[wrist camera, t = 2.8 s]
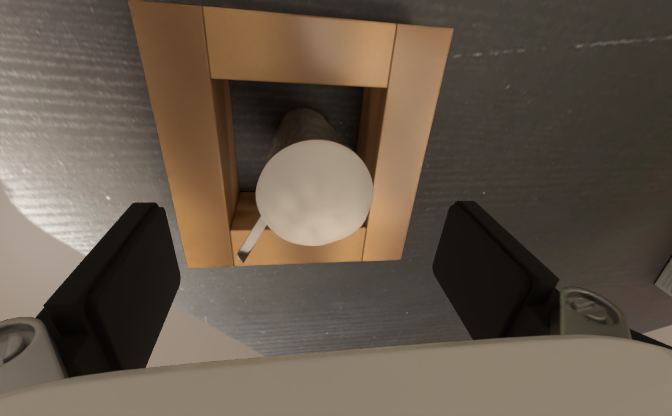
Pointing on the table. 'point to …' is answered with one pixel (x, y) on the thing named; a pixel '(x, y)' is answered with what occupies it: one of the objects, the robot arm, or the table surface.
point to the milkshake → (310, 185)
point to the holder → (287, 67)
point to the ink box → (666, 279)
